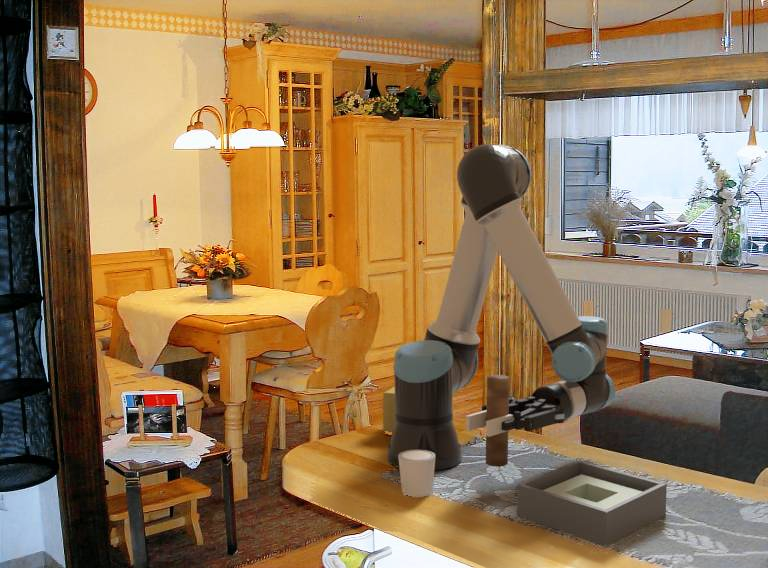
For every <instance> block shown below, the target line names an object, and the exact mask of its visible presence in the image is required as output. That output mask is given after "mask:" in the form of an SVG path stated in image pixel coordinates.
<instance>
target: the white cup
mask: <svg viewBox="0 0 768 568" xmlns="http://www.w3.org/2000/svg"><path fill="white" fill-rule="evenodd" d="M398 458H399V467H398V468H399V476H400V484H401V485H400V486H401V492H403V493H404V494H405V495H404V494H403V493H402V494H403V495H404V496H406V495H408V496H407V497H409V496H412V497H411V498H423V497H424V496H425V497H428V496H431V495H432V494H433V492H434V490H433V489H434V477H435V470H434V469H435V454H434V453H433V452H430V451H427V450H408V451H404V452H401V453H400V454H398Z"/></svg>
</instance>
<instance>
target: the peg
mask: <svg viewBox="0 0 768 568" xmlns="http://www.w3.org/2000/svg"><path fill="white" fill-rule="evenodd" d="M509 396H510V376H508V375H505V374H503V375H502V374H491V375H488V376H487V377H486V404H487V412H486V421H488V420H491V419H495V418H498V417H502V416H505V415H508V414H509ZM508 458H509V431H506V432H503V433H500V434H497V435H493V436H490V437H488V436H486V435H485V464H486V465H487V466H491V467H499V468H500V467H505V466H507V465H508V463H509V462H508V461H509V460H508Z"/></svg>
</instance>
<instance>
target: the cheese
mask: <svg viewBox="0 0 768 568" xmlns="http://www.w3.org/2000/svg"><path fill="white" fill-rule="evenodd" d="M382 395H383V396H382V426H383V432H384V431H388V432H392V433H393V429H394V426H395V385H394V386H393V387H391V388H389V389H388V390H387V391H384V392H383V393H382Z"/></svg>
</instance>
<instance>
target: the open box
mask: <svg viewBox="0 0 768 568" xmlns="http://www.w3.org/2000/svg"><path fill="white" fill-rule="evenodd" d="M665 516H667V483H664V482H660V481H656V480H654V479H653V480H652V479H649V478H645V477H642V476H638V475H634V474H631V473H627V472H624V471H620V470H616V469H613V468H608V467H604V466H601V465H597V464H593V463H589V462H586V461H582V460H580V459H579V460H576V461H573V462H570V463H568V464H566V465H563V466H561V467H558V468H555V469H553V470H551V471H547V472H545V473H543V474H540V475H537V476H535V477H533V478H531V479H527V480H524V481H523V482H520V483H518V484H516V517H519V518H522V519H524V520H528V521H531V522H534V523H536V524H541V525H543V526H546V527H548V528H551V529H554V530H558V531H561V532H563V533H566V534H569V535H572V536H575V537H577V538H581V539H583V540H587V541H590V542H592V543H595V544H598V545H601V546H605V547H608V546H610V545H611V544H614V543H615V542H618V541H619V540H621V539H624V538H626V537H628V536H629V535H631V534H633V533H635V532H636V531H639V530H641V529H643V528H645V527H646V526H649V525H651V524H652V523H654V522H656V521H658V520H660V519H662V518H663V517H665Z"/></svg>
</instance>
